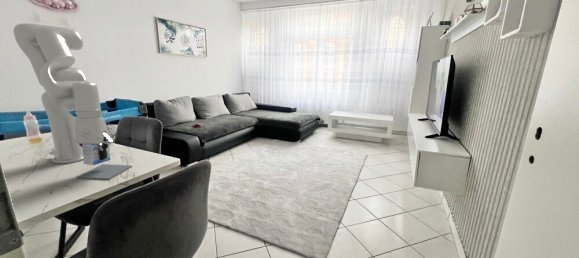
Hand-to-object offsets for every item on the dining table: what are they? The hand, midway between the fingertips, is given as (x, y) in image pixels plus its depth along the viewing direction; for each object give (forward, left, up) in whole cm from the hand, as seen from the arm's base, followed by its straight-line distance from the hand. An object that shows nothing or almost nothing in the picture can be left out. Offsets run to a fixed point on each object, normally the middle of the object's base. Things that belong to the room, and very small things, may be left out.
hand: (97, 158), depth 99 cm
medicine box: (0, 0, -2) cm, 2 cm away
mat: (+3, 0, -6) cm, 7 cm away
